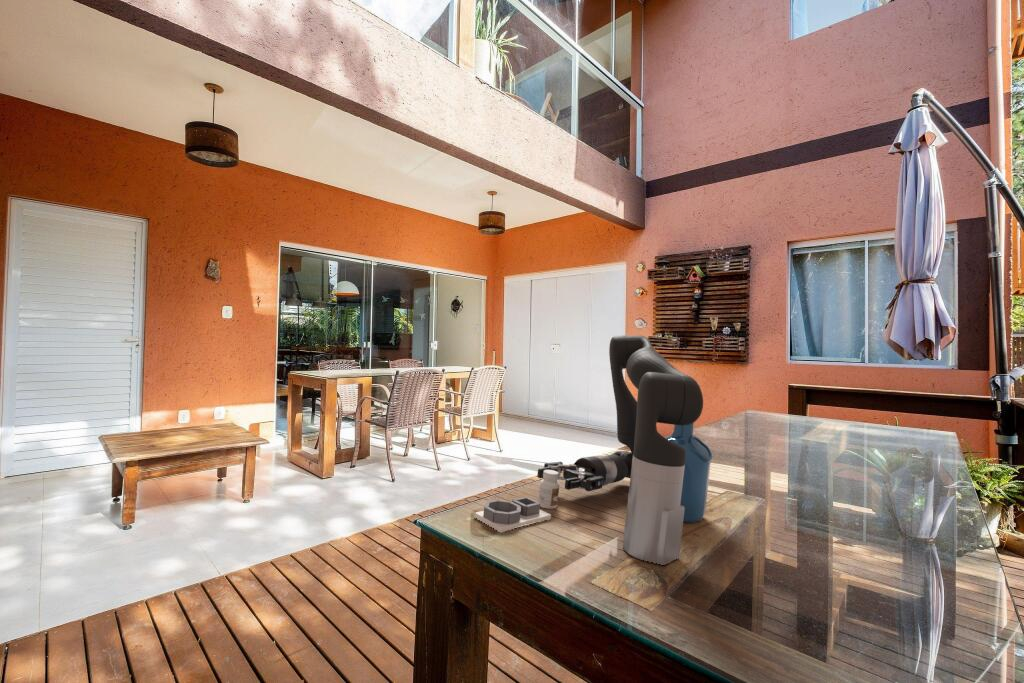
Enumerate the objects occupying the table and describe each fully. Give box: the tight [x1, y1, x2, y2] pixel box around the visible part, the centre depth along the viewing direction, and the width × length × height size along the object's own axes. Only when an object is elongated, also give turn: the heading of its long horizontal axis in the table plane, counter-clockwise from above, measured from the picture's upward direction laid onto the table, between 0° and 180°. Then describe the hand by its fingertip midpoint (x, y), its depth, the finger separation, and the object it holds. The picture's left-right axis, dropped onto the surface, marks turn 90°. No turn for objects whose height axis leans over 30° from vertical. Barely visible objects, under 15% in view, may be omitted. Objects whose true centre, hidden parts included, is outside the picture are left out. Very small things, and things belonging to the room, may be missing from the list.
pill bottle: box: [537, 470, 560, 510], centre depth 102 cm, size 4×4×8 cm
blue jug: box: [663, 422, 713, 523], centre depth 107 cm, size 14×13×30 cm
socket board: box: [474, 496, 552, 534], centre depth 92 cm, size 8×14×3 cm, turn 133°
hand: (552, 478), depth 102 cm, fingers open, 8 cm apart
